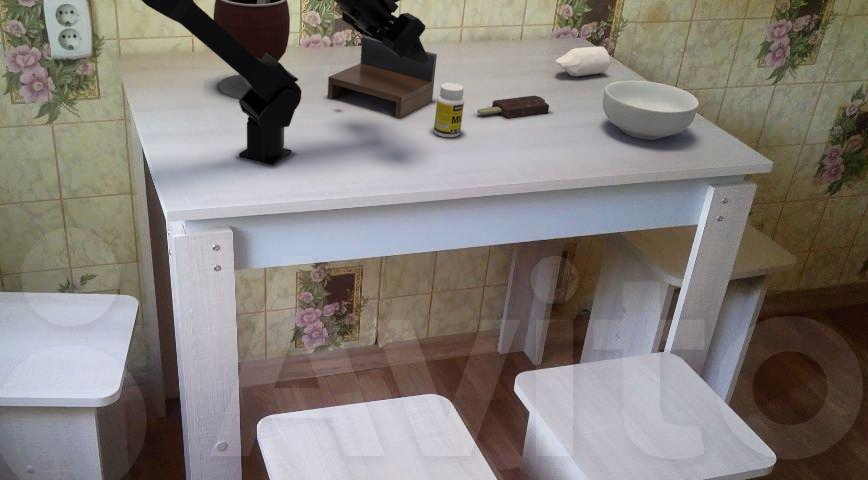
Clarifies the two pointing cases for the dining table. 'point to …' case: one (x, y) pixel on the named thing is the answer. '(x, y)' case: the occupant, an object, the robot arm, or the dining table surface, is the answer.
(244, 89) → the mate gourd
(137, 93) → the dining table surface
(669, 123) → the cereal bowl
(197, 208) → the dining table surface
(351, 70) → the shelf
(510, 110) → the ice cream bar
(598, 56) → the white tapered cylinder
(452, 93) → the supplement bottle
